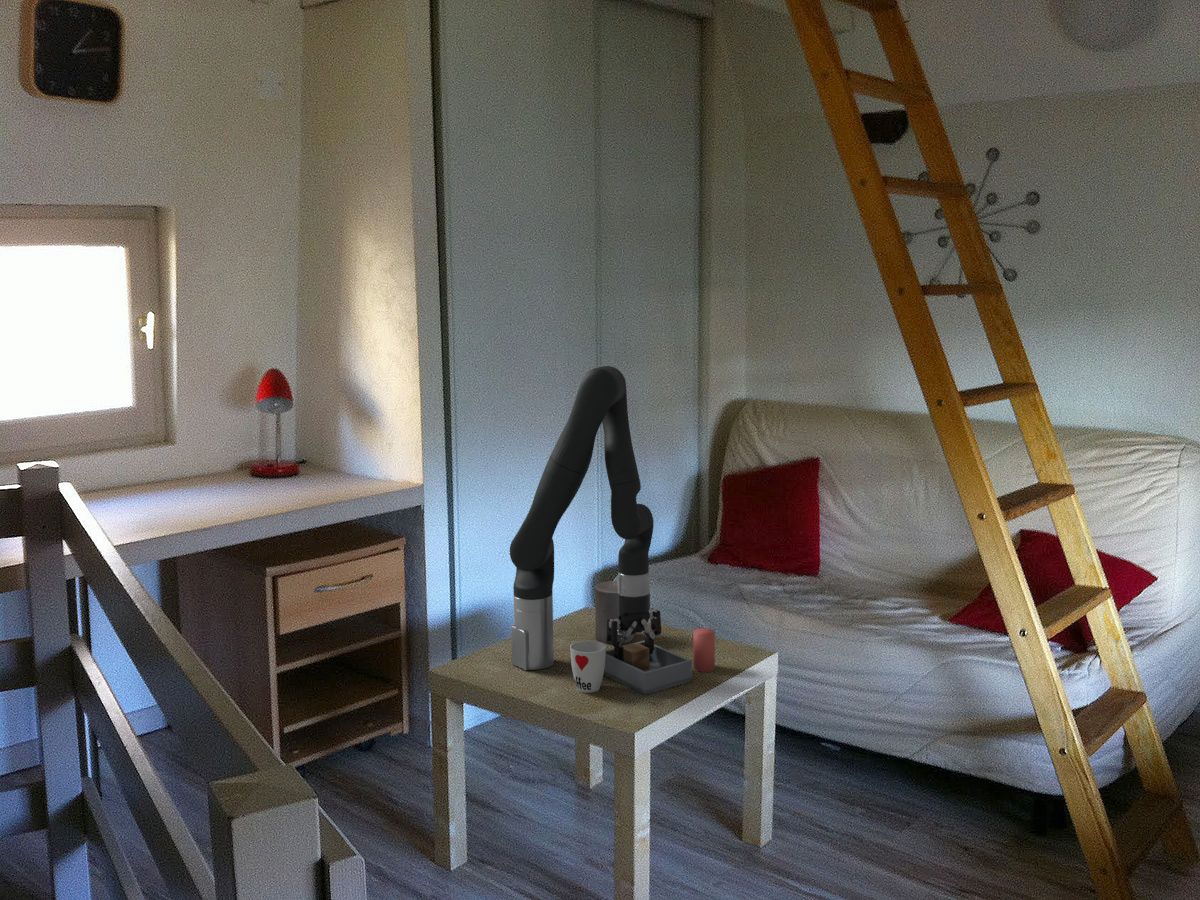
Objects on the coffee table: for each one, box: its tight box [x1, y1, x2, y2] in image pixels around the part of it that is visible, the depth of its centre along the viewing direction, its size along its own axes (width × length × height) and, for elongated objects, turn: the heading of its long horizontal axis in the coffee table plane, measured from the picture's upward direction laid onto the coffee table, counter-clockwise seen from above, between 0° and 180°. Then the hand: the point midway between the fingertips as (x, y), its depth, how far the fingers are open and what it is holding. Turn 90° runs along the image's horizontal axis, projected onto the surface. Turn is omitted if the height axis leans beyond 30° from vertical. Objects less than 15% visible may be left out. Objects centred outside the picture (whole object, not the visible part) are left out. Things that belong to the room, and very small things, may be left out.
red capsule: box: [692, 627, 716, 673], centre depth 290 cm, size 5×5×9 cm
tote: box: [603, 639, 693, 696], centre depth 285 cm, size 14×18×5 cm
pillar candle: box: [594, 580, 634, 645], centre depth 311 cm, size 10×10×15 cm
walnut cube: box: [622, 642, 650, 671], centre depth 288 cm, size 5×5×5 cm
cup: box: [569, 640, 607, 694], centre depth 278 cm, size 8×8×10 cm
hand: (634, 657), depth 288 cm, fingers open, 8 cm apart
